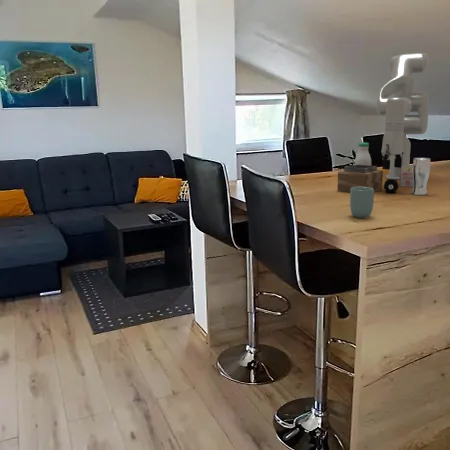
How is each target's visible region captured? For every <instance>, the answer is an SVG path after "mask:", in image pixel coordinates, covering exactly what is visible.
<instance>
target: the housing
mask: <svg viewBox="0 0 450 450" xmlns="http://www.w3.org/2000/svg"><path fill="white" fill-rule="evenodd" d="M383 178H384V171H383V169H382V170H380V169H378V166H377V165H371V166H369V165H355V164H353V165H347V166H343V170H340V171H338V172H337V192H342V193H343V192H344V193H350V190H351V188H352V187H371V188H373V189H374V193H376V192H381V191H383V180H384V179H383Z"/></svg>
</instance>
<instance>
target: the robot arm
mask: <svg viewBox="0 0 450 450" xmlns="http://www.w3.org/2000/svg"><path fill="white" fill-rule="evenodd" d="M429 66H430V57H429V55H428V54H427V53H425V52H415V53H401V54H398V55H394V56H392V57H391V58H390V60H389V69H390V72H391V77H390V80H389V81H387V82H386V83H385V84H384V85H383V86H382V87H381V88H380V89H379V91H378V95H377V101H376V109H375V110H376V113H377V114H378V115H379V116H384V117H385V122H384V124H385V125H384V132H383V137H382V144H381V145H382V146H381V157H382V170H385V171H386V170H387V171H388V170H389V171H388V174H385V179H387V180H388V179H394V180H396V181H399V180H400V168H401V167H402V165H410V160H411V159H410V158H411V156H410V155H411V146H412V145H411V141H410V139H409V138H408V137H407V135H423V134H426V133H427V129H428V125H429V124H428V122H429V108H430V107H429V106H430V99H429V94H428V93H427V92H426V91H414V80H413V78H412V74H415V73H418V74H419V73H420V74H421V73H426V72H427V70H428V69H429ZM392 95H394V97H390V96H392ZM409 113H417V114H409Z"/></svg>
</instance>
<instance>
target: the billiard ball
mask: <svg viewBox="0 0 450 450" xmlns="http://www.w3.org/2000/svg"><path fill="white" fill-rule="evenodd" d="M383 188H384V191H385V192H387V193H389V194H393V193H395V192H397V191H398V190H399V182H398V180H395V179H388V178H387V180H385V181H384V183H383Z"/></svg>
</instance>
